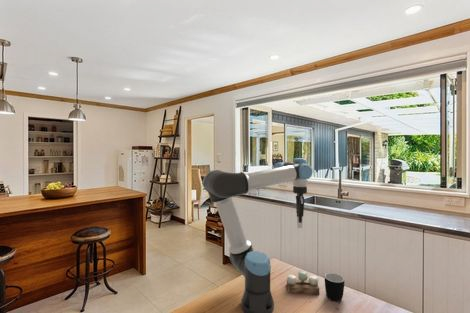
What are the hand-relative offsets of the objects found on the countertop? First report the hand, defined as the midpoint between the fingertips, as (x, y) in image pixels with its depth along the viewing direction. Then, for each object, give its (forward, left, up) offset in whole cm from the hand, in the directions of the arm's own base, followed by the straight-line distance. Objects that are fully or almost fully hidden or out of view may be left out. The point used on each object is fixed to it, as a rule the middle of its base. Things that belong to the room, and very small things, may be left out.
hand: (299, 227), depth 140 cm
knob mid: (-1, -12, -25) cm, 28 cm away
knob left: (-6, -12, -27) cm, 31 cm away
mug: (+13, -17, -29) cm, 36 cm away
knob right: (+5, -12, -28) cm, 30 cm away
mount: (-1, -12, -28) cm, 31 cm away
